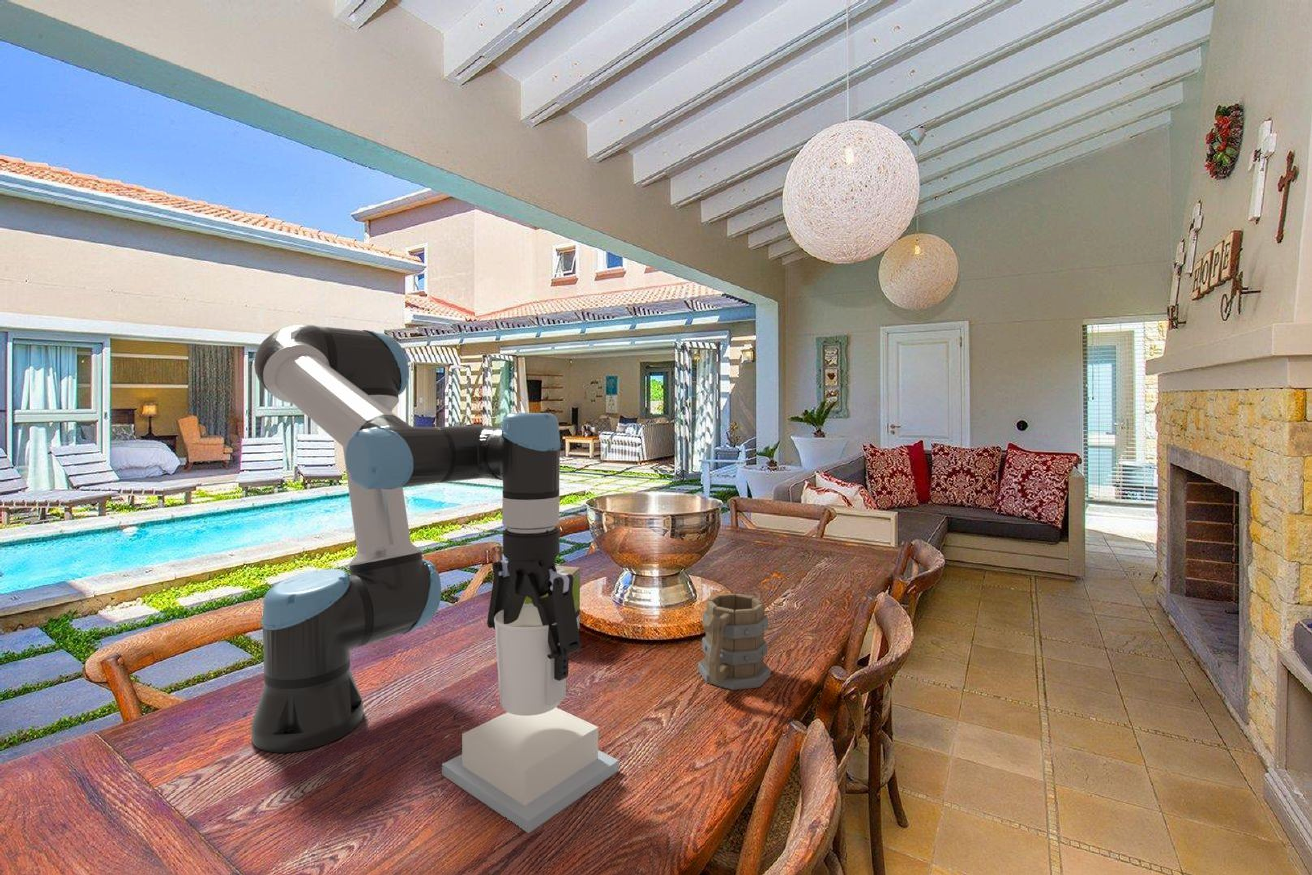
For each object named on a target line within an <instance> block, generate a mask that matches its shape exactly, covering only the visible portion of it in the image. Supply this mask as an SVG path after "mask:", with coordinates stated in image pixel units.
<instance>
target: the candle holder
mask: <svg viewBox="0 0 1312 875" xmlns="http://www.w3.org/2000/svg"><path fill="white" fill-rule="evenodd" d="M494 623H495V629H494V632H495V633H494V634H495V647H496V650H495V651H496V662H497V676H498V679H497V680H498V693H499V702H500V706H501V708H502V709H503V710H504V711H505V713H507V712H508V713H511V714H514V715H521V716H531V715H538V714H543V713H546V712H548V711H551V710H553V709H554V708H558V706H559V705H560V704H561V702H562V701H560V702H558V703H556V704H554V705H552V706H549V705H547V655H549V654H551V651H550V647H549V644H548V629H549V626H548V625H545V626H543V625H542V622H541V619H540V615H539V612H538V609H537V607H535V606H534V605H533V603H532V604H523V606H522V609H521V612H520V614H519V617H518V619H517V620H516V621H514V622H512V623H510V624H504V610H501V611H499V612H498V613H497V614H496V615H495V617H494ZM552 625H557V623H554V624H552ZM559 645H560V643H558V646H559Z"/></svg>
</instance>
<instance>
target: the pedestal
mask: <svg viewBox="0 0 1312 875" xmlns="http://www.w3.org/2000/svg"><path fill="white" fill-rule="evenodd" d="M461 735H462V736H461V738H462V739H461V745H462V746H461V747H462V748H461V749H462V750H461V754H458V756H455V757H453V758H451V759H449V760H448V761H445V762H443V763H441V775H442V776H443V777H445V778H446V779H447V780H449V781H451V782H452V783H454V784H455V785H457V786H458V787H460V788H461V789H462V790H463V791H466V792H467V793H468V794H469V795H471V796H472V797H474V798H475V799H477V800H478V801H480V802H481V803H483V804H484V805H486V806H487V807H489V808H490V809H492V810H493V811H494V812H497V813H498V814H499V815H501V816H502V817H504V818H505V817H506V818H507V819H506V818H505V819H506V820H508V821H509V820H510V821H509V822H511V821H512V822H514V823H515V824H516V826H517V825H518V826H519V827H518V826H517V827H518V828H520V829H521V828H522V830H523V831H524V832H525V833H527V834H530V833H531V832H533V831H534V830H536V829H537V828H539V827H541V826H542V825H543V824H544V823H546V822H547V821H548V820H550V819H552V818H553V817H555V816H556V815H557V814H558V813H560V812H561V811H563V810H564V809H566V808H567V807H569V806H570V805H572V804H574V802H576V801H577V800H579V799H580V798H582V797H583V796H585V795H586V794H587V793H589V792H590V791H591V790H593V789H594V788H596V787H598V786H599V785H600V784H602V783H603V782H604V781H606V780H608V779H609V778H610V777H612V776H613V775H615V774H616V773H618V772H619V771H620V770H619V768H620V767H619V766H620V765H619V764H620V763H619V762H620V761H619V759H618V758H615V757H613V756H611V755H609V754H607V753H605V752H604V751H601V750H599V726H598V725H596V724H593V723H591V722H588V721H586V720H585V719H582V718H580V717H577V716H576V715H573V714H571V713H569V712H567V711H564V710H563V709H560V708H558V707H556V708H554V709H553V710H551V711H548V712H546V713H543V714H538V715H531V716H521V715H514V714H511V713H508V712H505V713H503V714H500V715H499V716H496V717H494V718H492V719H490V720H488V721H486V722H484V723H482V724H480V725H477V726H476V727H473V728H471V729H469V730H468V731H465V732H462V734H461ZM512 822H511V823H512ZM514 823H513V824H514ZM515 824H514V825H515Z"/></svg>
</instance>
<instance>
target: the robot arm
mask: <svg viewBox="0 0 1312 875" xmlns="http://www.w3.org/2000/svg"><path fill="white" fill-rule="evenodd" d="M254 356H255V357H254V371H255V374H256V377H257V380H258V381H259V383H260V384H261V385H262V387H263V388H264V389H265V390H266V391H267V392H268V393H270V394H271V395H272V396H273V397H274V398H276V399H277V400H279V401H281V402H285V403H290V404H292V405H294V406H295V407H297V409H298V410H300V411H301V412H303V414H305V415H306V416H307V417H308V418H309V419H310V420H312V421H313V422H314V423H315V424H316V425H317V426H318V427H320V429H322V430H323V431H324V432H325V433H326V434H328V435H329V436H330V437H331V438H332V439H333V440H335V441H336V442H337V443H338V444H339V445H340V446H341V447H342V451H343V456H344V458H343V459H344V463H345V464H344V466H345V471H346V479H347V487H348V494H349V495H348V496H349V502H350V508H351V515H352V522H353V529H354V531H353V532H354V537H355V543H356V544H355V546H356V554H355V556H354V557H353V558H352V559H351V561H350V562H349V563H348V566H349V572H350V573H348V572H347V571H346V570H343V569H339V568H325V569H322V570H321V569H320V570H312V571H307V572H303V573H299V574H297V575H293V576H291V577H288V578H286V579H284V580H281V581H279V582H277V583H276V584H275V585H273V586H272V587H271V588H270V589H269V590H267V592H266V594H265V595H264V598H263V603H262V607H263V608H262V616H261V620H260V622H261V626H262V642H263V644H262V645H263V646H262V647H263V681H264V683H263V684H264V685H263V688H262V692H261V694H260V698H259V701H258V704H257V706H256V709H255V712H254V715H253V718H252V722H251V727H250V728H251V730H250V731H251V733H250V734H251V743H252V744H253V746H255V748H257V749H259V750H261V751H265V752H269V753H293V752H301V751H302V752H303V751H306V750H310V749H314V748H318V747H321V746H324V745H327V744H330V743H332V742H334V741H337V740H339V739H341V738H343V737H345V736H346V735H348V734H350V733H351V732H352V731H353V730H355V729H356V728H357V727H358V726H359V725H361V724H360V723H361V722H362V721H363V718H364V701H363V698H362V696H361V692H360V690H359V688H358V685H357V683H356V680H355V678H354V676H353V673H352V671H351V651H352V650H353V649H356V648H359V647H360V648H361V647H363V646H367V645H369V644H374V643H376V642H379V641H382V640H385V639H388V638H392V637H394V636H397V635H404V634H405V635H406V634H409V633H411V632H412V631H414V630H416V629H420V628H422V627H424V626H426V625H427V624H429V623H430V622H431V621H432V620H433V618H434V617H435V615H436V613H437V612H438V610H439V607H440V603H441V598H442V583H441V577H440V574H439V571H438V569H437V570H436V566H435V564H434V563H433V562H432V561H430V560H429V559H424V558H423V554H422V549H420V548H419V547H417V546H416V545H415V544H413V542H411V536H410V529H409V528H410V527H409V521H408V516H407V508H406V502H405V501H406V500H405V494H404V488H406V487H412V486H421V485H430V484H439V483H449V482H458V481H459V482H460V481H468V480H477V479H487V480H488V479H489V480H498V481H502V507H501V508H502V514H501V515H502V516H501V519H502V520H501V524H502V525H503V526H504V527H505V529H504V530H503V532H502V555H503V557H504V558H506V559H502V560H497V561H494V562H493V563H492V569H493V570H492V572H493V581H492V587H491V594H490V600H489V601H490V602H489V606H488V607H489V608H488V616H487V621H486V624H487V627H488V628H489V629H492V628H493V629H494V630H495V623H494V617H495V615H496V614H497V613H498V612H499V611H501V610H504V624H510V623H512V622H514V621H516V620H517V619H518V617H519V614H520V612H521V609H522V606H523V604H524V601H525V598H526V596H527V597H529V598H531V600H532V603H533V605H534V606H535V607H537V609H538V612H539V615H540V619H541V622H542V625H543V626H545V625H548V626H549V629H548V644H549V647H550V651H551V654H549V655H547V705H549V706H552V705H554V704H556V703H558V702H560V701H561V702H562V701H563V700H565V699H566V698H567V693H566V692H567V690H566V689H567V685H566V683H567V681H566V680H567V678H568V676H569V655H571V654H574V653H575V652H578V651H580V650H581V649H582V644H581V640H580V639H581V638H580V633H579V632H580V631H579V630H578V625H577V618H576V612H575V606H574V600H573V593H572V590H573V576H572V575H571V574H568V575H561V574H559V573H557V570H556V567H555V566H556V564H555V563H556V562H555V560H556V558H557V557H558V555H559V554H560V550H561V548H560V547H561V546H560V545H561V543H560V542H561V541H560V534H561V533H560V532H561V530H560V529H559V527H557V525H559V524H560V469H561V468H560V466H561V465H560V464H561V463H560V462H561V461H560V458H561V454H560V453H561V447H562V446H561V445H562V443H561V438H560V427H559V426H560V424H559V419H558V417H557V415H555V414H554V413H549V412H548V413H547V412H508V413H505V414H504V415H503V417H502V424H501V426H495V425H494V426H493V425H483V424H478V423H477V424H464V425H457V426H454V425H453V426H412V425H410V424H408V423H407V422H406V421H404V420H403V419H401V418H400V417H398V416H397V415H395V414H394V413H393V410H394V408H395V407H396V406H398V404H399V402H400V398H399V396H400V395H402V393H403V392H405V390H406V388H407V385H408V378H409V374H410V371H409V362H408V359H407V356H406V354H405V351H404V349H403V347H402V346H401V344H400V343H399V342H398V340H396V339H394V338H393V337H392V336H390V335H388V334H386V333H380V332H375V331H372V330H369V329H363V330H358V329H350V328H339V327H329V326H317V325H314V324H313V325H312V324H295V325H291V326H286V327H283V328H282V327H281V328H280V329H278V330H277V331H276V330H275V331H274V332H272V333H271V334H269V335H268V336H267V337H266V338H265V339H264V340H263V341H262V342H261V344H260V345H259V346H258V348H257V350H256V354H255V355H254ZM349 574H350V575H349ZM547 593H548V596H547V597H544V598H540V597H542V596H545V595H546V594H547ZM554 623H557V625H552V624H554ZM558 643H560V645H559V646H558ZM561 702H560V703H561Z"/></svg>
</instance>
